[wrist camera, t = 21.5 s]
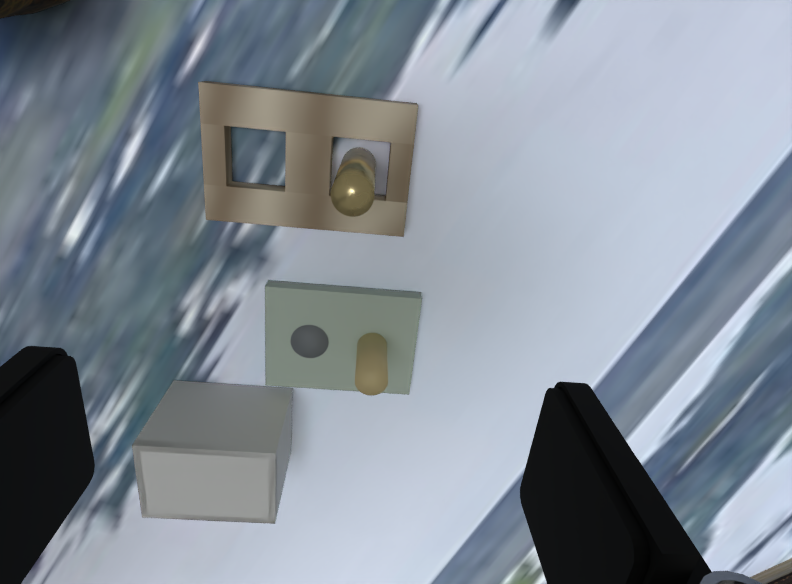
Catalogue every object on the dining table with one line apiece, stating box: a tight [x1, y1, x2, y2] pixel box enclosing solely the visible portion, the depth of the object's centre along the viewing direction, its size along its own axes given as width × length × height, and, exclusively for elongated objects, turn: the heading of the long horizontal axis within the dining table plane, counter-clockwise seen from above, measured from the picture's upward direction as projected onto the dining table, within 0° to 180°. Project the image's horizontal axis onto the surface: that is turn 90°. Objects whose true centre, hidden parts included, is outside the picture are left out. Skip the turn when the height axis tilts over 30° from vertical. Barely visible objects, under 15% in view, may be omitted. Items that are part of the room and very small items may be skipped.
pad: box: [265, 280, 422, 395], centre depth 39 cm, size 12×9×6 cm
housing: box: [132, 380, 293, 524], centre depth 41 cm, size 10×7×8 cm
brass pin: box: [331, 148, 376, 217], centre depth 32 cm, size 2×2×9 cm
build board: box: [198, 81, 418, 237], centre depth 35 cm, size 14×9×2 cm, turn 84°
